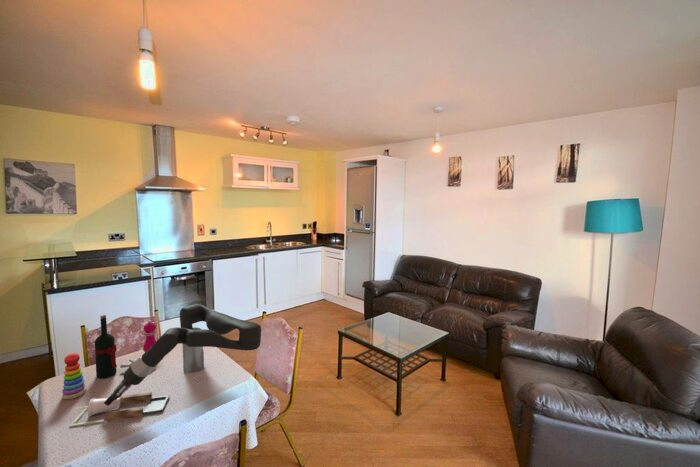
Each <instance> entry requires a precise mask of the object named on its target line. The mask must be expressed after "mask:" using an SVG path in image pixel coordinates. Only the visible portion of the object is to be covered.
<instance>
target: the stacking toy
mask: <svg viewBox="0 0 700 467" xmlns="http://www.w3.org/2000/svg"><path fill="white" fill-rule="evenodd" d="M79 361H80V354H79V353H76V352H72V353H71V352H70V353H68V354H67V355H66V356H65V357H64V361H63V362H64V364H65V367H64V370H65V371H64V372H63V374H64V376H63V379H64V380H63V386H62V390H61V391H62V392H61V393H62V395H61V397H62V399H64V400H72V399H76V398H78V397H80V396H82V395H84V394H85V393H86V391H87V388H86V385H85V379H84V376H83V371H82V368H81V363H80V362H79Z"/></svg>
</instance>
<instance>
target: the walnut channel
mask: <svg viewBox="0 0 700 467" xmlns="http://www.w3.org/2000/svg"><path fill="white" fill-rule="evenodd" d="M151 397H153V392H152V391H151V392H143V393H142V392H141V393H136V394H135V393H134V394H128V395H122V396H120V397H119V398H121V402H120V406H121V405H122V406H123V405H132V404H136V403H137V404H138V403H144V402H150V401H151ZM143 411H144V407H136V408H129V409H128V408H127V409H122V410H115V411H107V413H106V414H105V416H106V418H105V421H106V423H108V422H115V421H122V420H123V421H125V420H130V419H136V418H142V417H143V416H144V415H143Z"/></svg>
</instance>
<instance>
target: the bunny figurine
mask: <svg viewBox="0 0 700 467" xmlns="http://www.w3.org/2000/svg"><path fill="white" fill-rule="evenodd" d="M137 359H138V358H136V359H135V358H133V357H131V358H129V360H128V361H129V362H131V363H129V362H128V363H121V364H120V368H121V369H123V368H129V367H130V366H131V365H132V364H133V363H134V362H135V361H136V360H137ZM156 367H157V365H156V366H155V368H156Z"/></svg>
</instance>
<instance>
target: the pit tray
mask: <svg viewBox="0 0 700 467" xmlns="http://www.w3.org/2000/svg"><path fill="white" fill-rule="evenodd" d="M169 400H170V394H169V395H168V394H167V395H161V396H152V397H151V401H148V404H147V406H146V407H145V409H144V410H143V416H147V415H153V414H154V415H155V414H161V413H163V412H164V410H165V407H166V406H167V404H168V401H169Z"/></svg>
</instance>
